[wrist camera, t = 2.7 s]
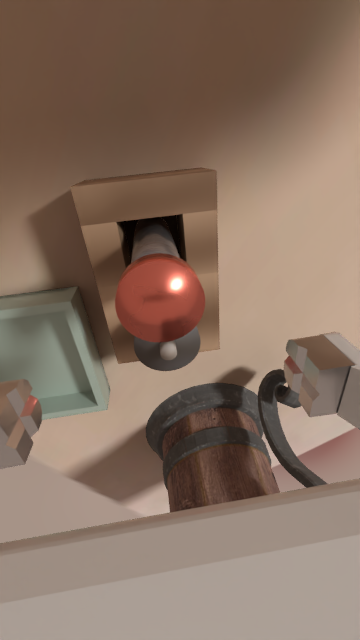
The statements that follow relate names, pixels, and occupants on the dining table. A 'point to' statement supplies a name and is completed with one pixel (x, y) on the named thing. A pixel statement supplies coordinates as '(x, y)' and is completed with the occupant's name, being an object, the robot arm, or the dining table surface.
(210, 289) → the block
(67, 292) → the tray
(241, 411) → the tankard
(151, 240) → the lock pin
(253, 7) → the dining table surface
